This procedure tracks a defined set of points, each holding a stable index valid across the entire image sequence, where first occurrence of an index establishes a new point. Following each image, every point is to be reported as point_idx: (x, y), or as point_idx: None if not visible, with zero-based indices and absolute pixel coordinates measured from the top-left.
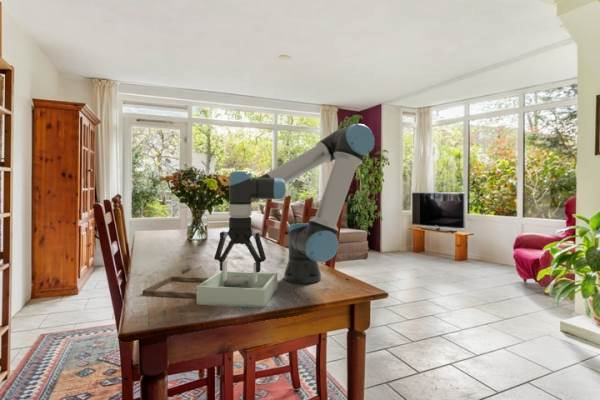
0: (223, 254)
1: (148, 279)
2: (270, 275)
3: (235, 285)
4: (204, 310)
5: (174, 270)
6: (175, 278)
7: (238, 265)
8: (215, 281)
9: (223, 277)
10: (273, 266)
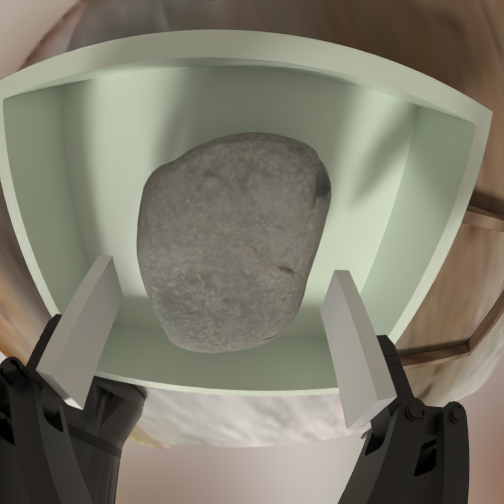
0: (405, 473)
1: (499, 335)
2: (110, 366)
3: (209, 141)
4: (365, 3)
5: (440, 391)
6: (462, 350)
7: (300, 439)
8: (379, 311)
9: (349, 288)
10: (213, 440)
